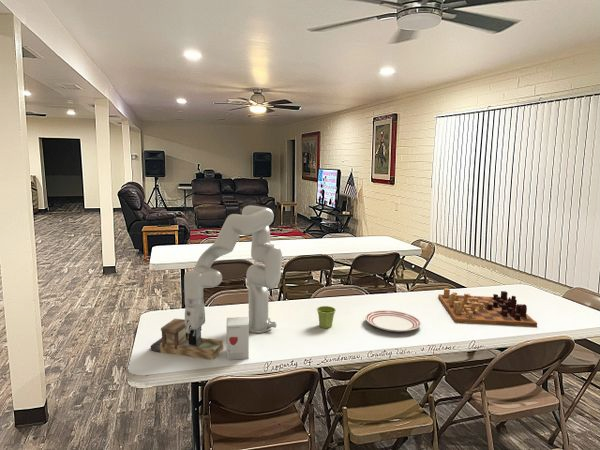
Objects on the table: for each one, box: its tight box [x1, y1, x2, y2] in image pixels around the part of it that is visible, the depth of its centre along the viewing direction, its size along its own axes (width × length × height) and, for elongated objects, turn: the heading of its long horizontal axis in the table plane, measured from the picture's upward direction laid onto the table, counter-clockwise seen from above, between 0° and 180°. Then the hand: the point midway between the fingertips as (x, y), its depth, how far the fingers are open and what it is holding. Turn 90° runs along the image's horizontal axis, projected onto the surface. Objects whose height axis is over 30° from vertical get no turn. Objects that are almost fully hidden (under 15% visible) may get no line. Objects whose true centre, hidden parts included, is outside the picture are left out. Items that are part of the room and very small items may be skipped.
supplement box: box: [226, 316, 250, 361], centre depth 178 cm, size 9×9×15 cm
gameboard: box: [437, 287, 538, 327], centre depth 236 cm, size 40×40×9 cm
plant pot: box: [316, 305, 336, 329], centre depth 211 cm, size 9×9×9 cm
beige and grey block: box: [166, 327, 202, 347], centre depth 182 cm, size 14×6×8 cm, turn 76°
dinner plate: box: [365, 309, 422, 333], centre depth 214 cm, size 27×27×3 cm
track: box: [150, 318, 224, 361], centre depth 182 cm, size 28×11×11 cm, turn 76°
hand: (195, 341), depth 181 cm, fingers closed on beige and grey block, 3 cm apart
